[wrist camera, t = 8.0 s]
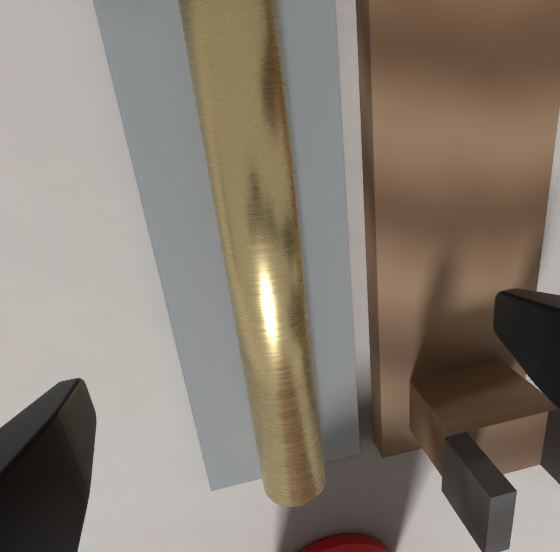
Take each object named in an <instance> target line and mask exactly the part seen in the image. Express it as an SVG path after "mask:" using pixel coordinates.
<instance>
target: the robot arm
mask: <svg viewBox="0 0 560 552" xmlns="http://www.w3.org/2000/svg"><path fill="white" fill-rule="evenodd" d="M493 329H494V332H495V334H496V335H497V337H498V338H499V339H500V340H501V342H502V343H503V344H504V346H505V347H506V348H507V349H508V351H509V352H510V353H511V354H512V356H513V357H514V358H515V360H516V361H517V362H518V363H519V365H520V366H521V367H522V368H523V370H524V371H525V372H526V374H527V375H528V376H529V377H530V379H531V380H532V381H533V382H534V383H535V385H536V386H537V387H538V388H539V389H540V390H541V391H542V392H543V394H544V395H545V396H546V397H547V398H548V399H549V400H550V401H551V402H552V403H553V404H554V405H555V406H556V407H557V408H558V409H559V410H560V295H554V294H548V293H542V292H536V291H530V290H524V289H518V288H513V289H508V290H503V291H500V292H498V293H497V294H496V297H495V303H494V315H493ZM95 432H96V413H95V409H94V406H93V404H92V401H91V398H90V395H89V392H88V389H87V387H86V384H85V382H84V381H83V380H82V379H81V378H75V379H70V380H65V381H61V382H59V383H57V384H56V385H55V386H54V387H52V388H51V389H50V390H48V391H47V392H46V393H45V394H43V395H42V396H41V397H39V398H38V399H37V400H36V401H34V402H33V403H32V404H30V405H29V406H28V407H27V408H25V409H24V410H23V411H21V412H20V413H19V414H18V415H16V416H15V417H14V418H12V419H11V420H10V421H9V422H7V423H6V424H5V425H4V426H2V427H1V428H0V552H77V551H78V546H79V542H80V537H81V532H82V528H83V523H84V519H85V514H86V509H87V504H88V499H89V494H90V485H91V476H92V465H93V454H94V443H95Z"/></svg>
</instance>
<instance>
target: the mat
mask: <svg viewBox="0 0 560 552" xmlns="http://www.w3.org/2000/svg"><path fill="white" fill-rule="evenodd" d="M93 3H94V7H95V11H96V15H97V19H98V23H99V27H100V32H101V36H102V40H103V44H104V48H105V52H106V57H107V61H108V65H109V69H110V73H111V77H112V81H113V86H114V90H115V94H116V98H117V102H118V106H119V110H120V115H121V119H122V123H123V127H124V131H125V135H126V139H127V144H128V148H129V152H130V156H131V160H132V164H133V169H134V173H135V177H136V181H137V185H138V189H139V193H140V198H141V202H142V206H143V210H144V214H145V218H146V222H147V227H148V231H149V235H150V239H151V243H152V247H153V251H154V256H155V260H156V264H157V268H158V272H159V276H160V281H161V285H162V289H163V293H164V297H165V301H166V305H167V310H168V314H169V318H170V322H171V326H172V330H173V334H174V339H175V343H176V347H177V351H178V355H179V359H180V363H181V368H182V372H183V376H184V380H185V384H186V388H187V393H188V397H189V401H190V405H191V409H192V413H193V417H194V422H195V426H196V430H197V434H198V438H199V442H200V446H201V451H202V455H203V459H204V463H205V467H206V471H207V475H208V480H209V484H210V488H211V491H213V490H217V489H221V488H225V487H229V486H233V485H237V484H241V483H245V482H249V481H253V480H257V479H261V478H262V475H261V469H260V464H259V458H258V452H257V447H256V441H255V435H254V430H253V424H252V418H251V413H250V407H249V401H248V396H247V390H246V384H245V379H244V373H243V367H242V362H241V356H240V350H239V345H238V339H237V333H236V328H235V322H234V316H233V311H232V305H231V299H230V294H229V288H228V282H227V277H226V271H225V265H224V260H223V254H222V248H221V243H220V237H219V231H218V226H217V220H216V214H215V209H214V203H213V197H212V192H211V186H210V180H209V175H208V169H207V163H206V158H205V152H204V146H203V141H202V135H201V129H200V124H199V118H198V112H197V107H196V101H195V95H194V90H193V84H192V78H191V73H190V67H189V61H188V56H187V50H186V44H185V39H184V33H183V27H182V22H181V16H180V10H179V5H178V0H93ZM278 10H279V20H280V30H281V40H282V50H283V60H284V70H285V80H286V90H287V100H288V110H289V120H290V130H291V140H292V150H293V160H294V170H295V180H296V190H297V200H298V210H299V220H300V230H301V240H302V250H303V260H304V270H305V280H306V290H307V300H308V310H309V320H310V330H311V340H312V350H313V360H314V370H315V380H316V390H317V400H318V410H319V419H320V429H321V439H322V449H323V459H324V463H326V462H330V461H334V460H338V459H342V458H346V457H350V456H354V455H358V454H360V437H359V419H358V401H357V383H356V365H355V347H354V330H353V312H352V294H351V276H350V258H349V240H348V222H347V204H346V186H345V168H344V151H343V133H342V115H341V97H340V79H339V61H338V43H337V25H336V7H335V0H278Z"/></svg>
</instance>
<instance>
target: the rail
mask: <svg viewBox="0 0 560 552" xmlns="http://www.w3.org/2000/svg"><path fill="white" fill-rule="evenodd" d="M178 5H179V10H180V16H181V22H182V27H183V33H184V39H185V44H186V50H187V56H188V61H189V67H190V73H191V78H192V84H193V90H194V95H195V101H196V107H197V112H198V118H199V124H200V129H201V135H202V141H203V146H204V152H205V158H206V163H207V169H208V175H209V180H210V186H211V192H212V197H213V203H214V209H215V214H216V220H217V226H218V231H219V237H220V243H221V248H222V254H223V260H224V265H225V271H226V277H227V282H228V288H229V294H230V299H231V305H232V311H233V316H234V322H235V328H236V333H237V339H238V345H239V350H240V356H241V362H242V367H243V373H244V379H245V384H246V390H247V396H248V401H249V407H250V413H251V418H252V424H253V430H254V435H255V441H256V447H257V452H258V458H259V464H260V469H261V475H262V481H263V486H264V490H265V492H266V494H267V496H268V497H269V498H270V499H271V500H272V501H274V502H275V503H277V504H280V505H283V506H288V507H296V506H302V505H305V504H307V503H309V502H311V501H313V500H314V499H315V498H317V497H318V496H319V494H320V493H321V492H322V490H323V488H324V485H325V469H324V459H323V449H322V439H321V429H320V419H319V410H318V400H317V390H316V380H315V370H314V360H313V350H312V340H311V330H310V320H309V310H308V300H307V290H306V280H305V270H304V260H303V250H302V240H301V230H300V220H299V210H298V200H297V190H296V180H295V170H294V160H293V150H292V140H291V130H290V120H289V110H288V100H287V90H286V80H285V70H284V60H283V50H282V40H281V30H280V20H279V10H278V0H178Z"/></svg>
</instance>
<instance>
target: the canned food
mask: <svg viewBox="0 0 560 552" xmlns="http://www.w3.org/2000/svg"><path fill="white" fill-rule="evenodd" d="M300 552H389V550H388V549H387V548H386V547H385V546H384V545H383V544H382V543H381V542H380V541H378V540H376V539H374V538H372V537H369V536H365V535H359V534H344V535H336V536H332V537H328V538H325V539H322V540H319V541H317V542H315V543H313V544H311V545H309V546H307V547H305V548H304V549H303V550H301V551H300Z"/></svg>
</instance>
